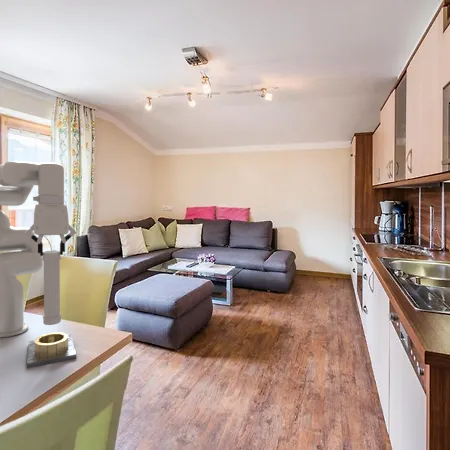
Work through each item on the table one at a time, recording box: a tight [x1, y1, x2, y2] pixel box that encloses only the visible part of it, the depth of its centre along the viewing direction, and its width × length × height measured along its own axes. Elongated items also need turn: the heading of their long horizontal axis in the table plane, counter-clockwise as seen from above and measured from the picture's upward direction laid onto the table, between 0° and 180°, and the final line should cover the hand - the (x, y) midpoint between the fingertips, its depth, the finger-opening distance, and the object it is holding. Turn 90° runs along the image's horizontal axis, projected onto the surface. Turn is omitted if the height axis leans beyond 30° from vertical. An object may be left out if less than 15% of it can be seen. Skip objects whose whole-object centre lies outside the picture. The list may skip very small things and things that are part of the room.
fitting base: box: [26, 331, 77, 369], centre depth 111 cm, size 18×14×6 cm
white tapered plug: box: [42, 235, 62, 326], centre depth 107 cm, size 6×6×30 cm
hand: (51, 254), depth 107 cm, fingers closed on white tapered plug, 5 cm apart
